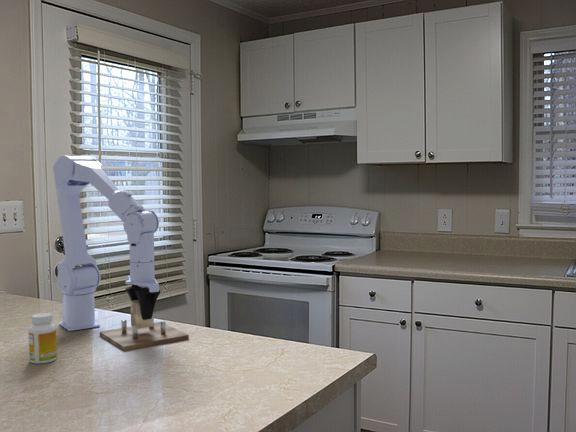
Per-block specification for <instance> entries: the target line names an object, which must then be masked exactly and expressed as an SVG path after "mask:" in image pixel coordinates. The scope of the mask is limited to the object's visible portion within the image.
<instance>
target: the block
mask: <svg viewBox="0 0 576 432" xmlns="http://www.w3.org/2000/svg"><path fill="white" fill-rule="evenodd" d="M153 316H154V314H153V315H152V319H147V320H143V319H142V316H141V309H140V303H139V300H134V301H131V300H130V327H131V326H135V325H136V326H138V329H140V328H146V327H152V326H153Z"/></svg>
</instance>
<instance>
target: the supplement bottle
mask: <svg viewBox="0 0 576 432" xmlns="http://www.w3.org/2000/svg"><path fill="white" fill-rule="evenodd" d="M52 322H53V314H52V313H51V312H44V313H43V312H42V313H35V314H33V315H31V323H32V325H31V326H30V327H29V328H28V352H29V353H28V355H29V357H28V359H29V362H30V363H32V364H34V365H35V364H37V365H38V364H40V365H41V364H48V363H51V362H54V361H55V360H57V359H58V348H57V347H58V346H57V345H58V344H57V327H56V324H54V323H52Z"/></svg>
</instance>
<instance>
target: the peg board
mask: <svg viewBox="0 0 576 432" xmlns="http://www.w3.org/2000/svg"><path fill="white" fill-rule="evenodd" d="M154 318H155V316H154V315H153V326H152V327H146V328H140V329H138V326H136V325H135V326H131V325H130V326H127V325H128V324H127V322H128V321H127V319H121V327H120V328H119V327H118V328H114V329H109V330H101V331H99V336H100V337H101V338H103V339H105V340H106V341H108V342H109V343H111V344H112V345H113V346H115V347H117V348H119V349H120V350H121V351H123V352H124V351H125V352H126V350H127V351H132V350H137V349H142V348H143V349H144V348H146V347H147V348H148V347H153V346H158V345H163V344H164V345H165V344H169V343H175V342H180V341H185V340H189V339H190V336H189V335H190V334H187V333H185V332H184V331H182V330H179V329H177V328H175V327H173V326H171V325H169V324H166V323H167V322H166V321H165V320H162V321H157V322H155V319H154Z"/></svg>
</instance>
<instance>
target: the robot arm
mask: <svg viewBox="0 0 576 432" xmlns="http://www.w3.org/2000/svg"><path fill="white" fill-rule="evenodd" d="M52 169H53V177H54V183H55V185H54V186H55V190H56V191H55V193H56V199H57V206H58V207H57V208H58V212H59V213H58V214H59V220H60V227H61V235H62V241H63V248H64V255H65V257H64V258H62V260H61V261H59V263H58V264H57V277H56V284H57V287H58V289H59V290H60V291H61V292H62V293H61V294H63V297H62V299H61V300H62V303H61V304H62V306H61V307H62V321H59V322H58V323H59V324H58V325H60V326H61V327H63V328H64V329H66V330H67V331H69V332H73V331H79V330H85V329H92V328H97V327H101V324H100V323H99V322H97V321H96V315H95V311H96V310H95V308H96V307H95V306H96V305H95V291H97V287H98V286H99V285H100V283H101V278H102V277H101V276H102V275H101V271H100V269H99V268H98V266H97V259H95V258H94V257H93V256H92V255H90V254H89V253H88V248H87V241H86V240H87V239H86V235H85V232H86V231H85V226H84V219H83V213H82V207H81V199H80V194H81V193H82V191H83V190H84V189H86V188H87V187H88V186H89V185H90V184H91V186H93V188H94V189H96V190H97V191H98V192H99V193H100V194H101V195H102V196H103V197H105V198H106V199H107V200H108V202H107V203H108V204H107V206H108V207H109V209H110V210H111V211H112V212H113V213H114V214H115V216H117V217H118V218H119V219H120V221H121V222H123V223H122V224H123V230H124V232H125V233H126V237H127V238H126V240H127V242H128V243H129V244H128V245H129V275H127V277H126V278H127V280H125V284H126V285H131V286H126V287H125V292H126V293H127V294H128V297H129V298H130V302H131V301H134V300H139V303H140V309H141V316H142V319H143V320H147V319H152V315H153V316H154V311H155V310H154V309H155V305H156V302H157V299H158V298H159V296H160V294H161V290H160V283H159V282H158V281H157V279H156V278H155V276H156V275H155V271H156V270H155V233H156V232H157V231H158V229H159V225H160V222H159V217H158V215H157V214H156V212H155V211H154V210H153V209H146V208H144V206H143V205H142V204H140V203H139V202H138V201H137V199H135V198H134V197H133V194H132V192H131V191H129V190H128V191H127V190H124V189H123V190H122V189H121V190H120V189H119V188H118V187H117V186H116V184H115V183H114V182H113V181H112V180H111V179H110V178H109V176H108V175H107V174H106V172H104V170H103V164H102V163H101V162H99V161H98V159H97V158H96V157H94V156H92V155H89V156H76V155H75V156H73V155H72V156H71V155H64V154H63V155H60V156H59V157H58V158H57V159H56V161H55V163H54V164H53V166H52ZM76 266H77V267H76Z"/></svg>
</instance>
